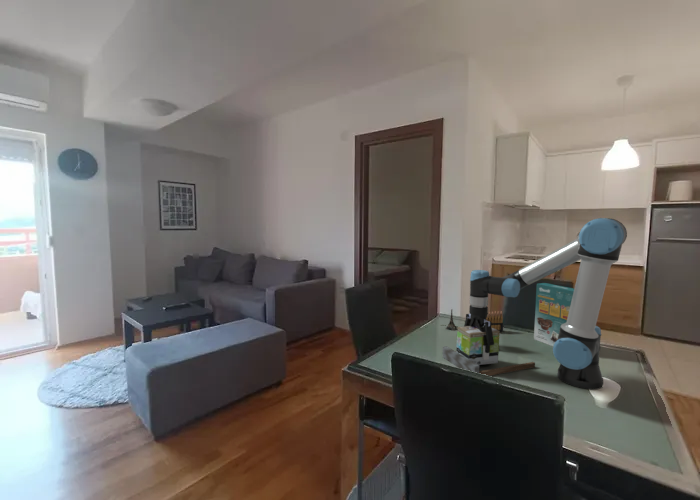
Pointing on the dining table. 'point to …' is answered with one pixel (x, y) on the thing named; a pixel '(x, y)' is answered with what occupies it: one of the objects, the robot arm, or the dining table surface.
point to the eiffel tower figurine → (451, 324)
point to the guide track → (469, 365)
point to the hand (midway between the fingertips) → (477, 354)
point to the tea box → (476, 344)
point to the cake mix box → (551, 311)
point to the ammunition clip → (496, 320)
